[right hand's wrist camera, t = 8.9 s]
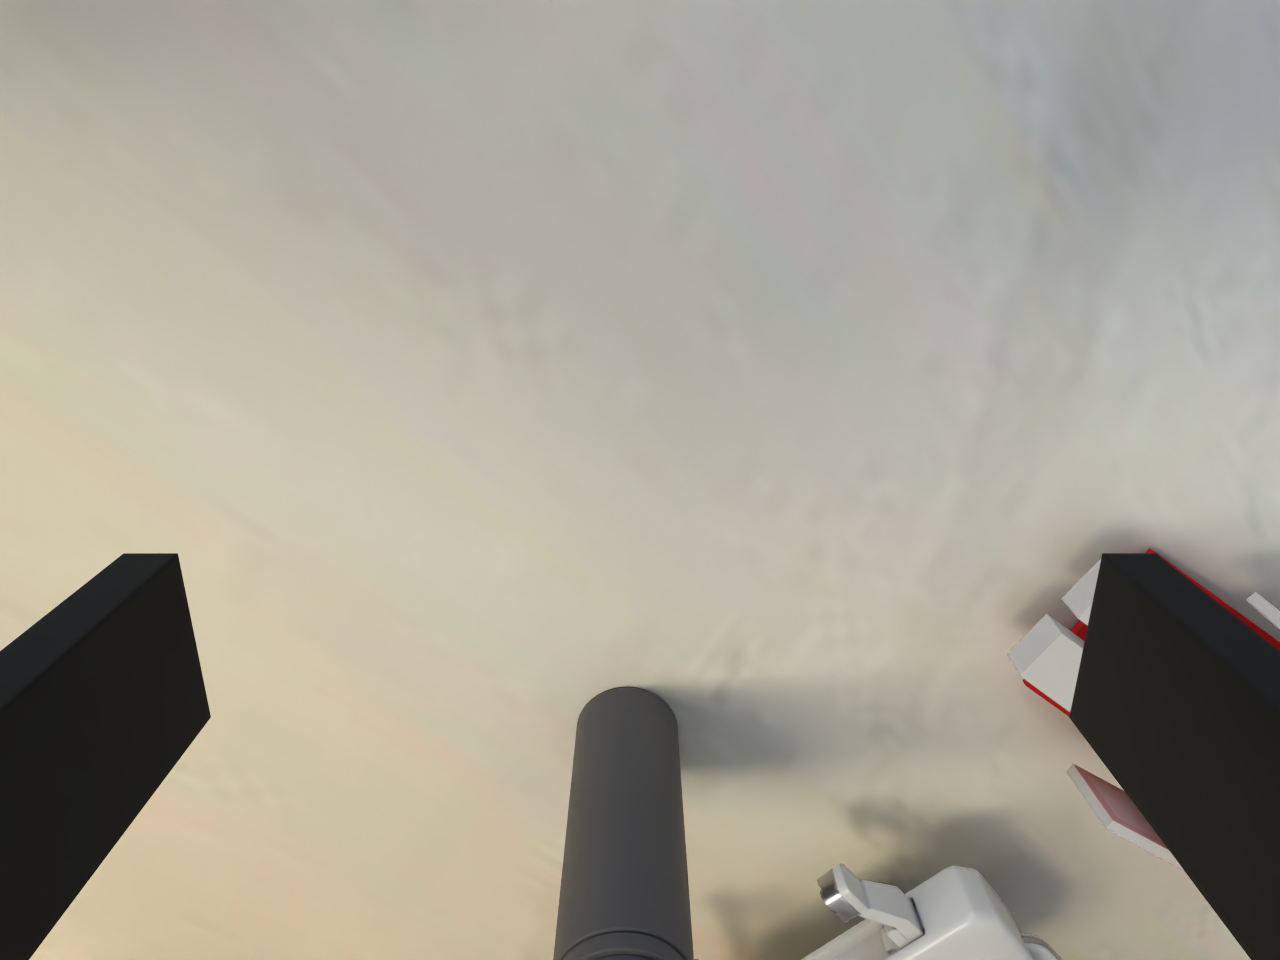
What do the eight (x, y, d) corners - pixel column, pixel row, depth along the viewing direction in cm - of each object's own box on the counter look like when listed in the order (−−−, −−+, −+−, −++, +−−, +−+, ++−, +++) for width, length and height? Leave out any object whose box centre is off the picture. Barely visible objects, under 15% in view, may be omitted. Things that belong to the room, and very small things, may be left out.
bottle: (583, 774, 49) (547, 1203, 29) (570, 691, 47) (523, 1091, 27) (681, 766, 48) (712, 1192, 29) (672, 682, 46) (699, 1077, 27)
